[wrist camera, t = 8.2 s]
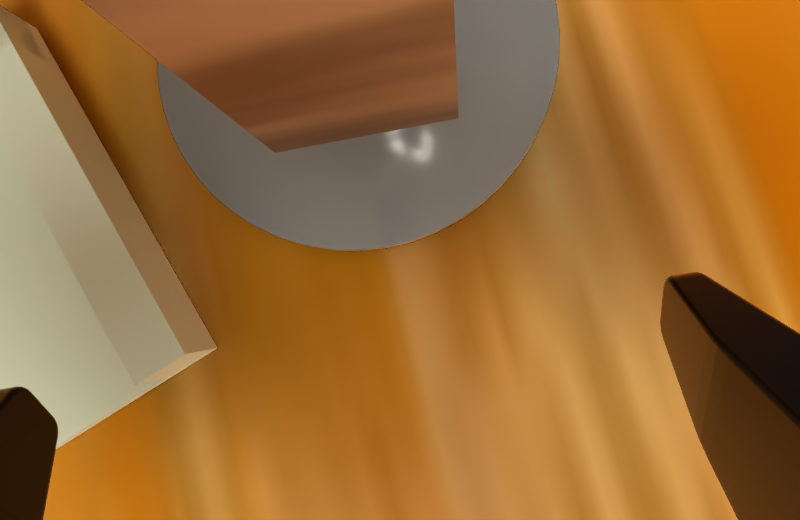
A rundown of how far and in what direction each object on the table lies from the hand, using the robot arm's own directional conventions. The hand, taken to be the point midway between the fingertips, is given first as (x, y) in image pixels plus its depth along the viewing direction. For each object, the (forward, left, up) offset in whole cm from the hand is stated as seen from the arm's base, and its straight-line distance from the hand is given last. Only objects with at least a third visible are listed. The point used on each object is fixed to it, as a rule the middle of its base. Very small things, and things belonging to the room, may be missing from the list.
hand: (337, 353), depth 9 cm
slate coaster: (+5, -6, -8) cm, 11 cm away
